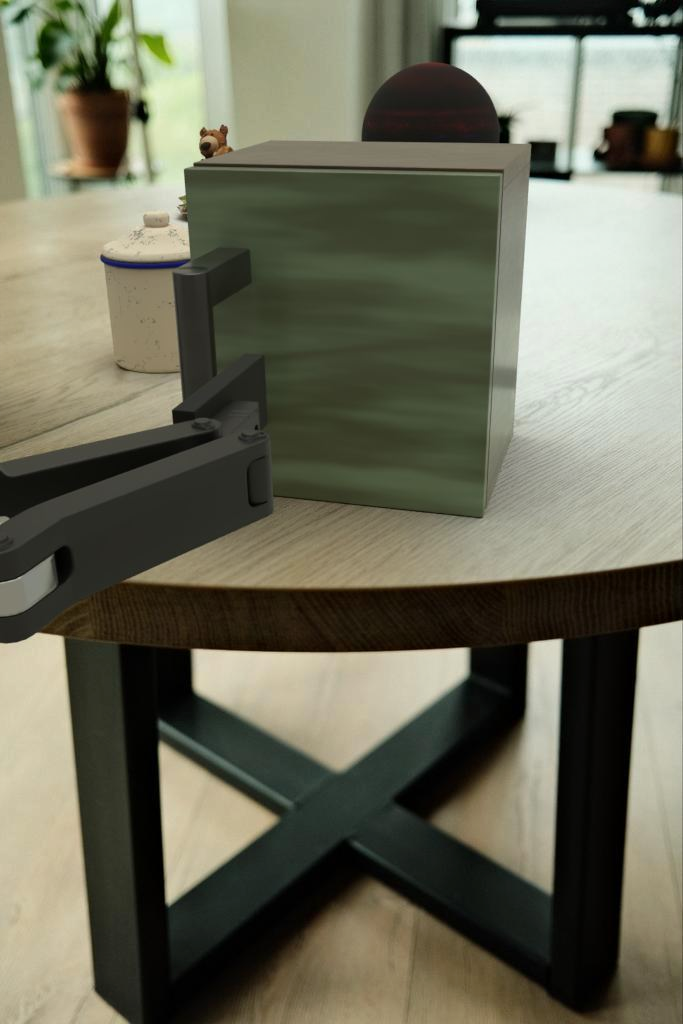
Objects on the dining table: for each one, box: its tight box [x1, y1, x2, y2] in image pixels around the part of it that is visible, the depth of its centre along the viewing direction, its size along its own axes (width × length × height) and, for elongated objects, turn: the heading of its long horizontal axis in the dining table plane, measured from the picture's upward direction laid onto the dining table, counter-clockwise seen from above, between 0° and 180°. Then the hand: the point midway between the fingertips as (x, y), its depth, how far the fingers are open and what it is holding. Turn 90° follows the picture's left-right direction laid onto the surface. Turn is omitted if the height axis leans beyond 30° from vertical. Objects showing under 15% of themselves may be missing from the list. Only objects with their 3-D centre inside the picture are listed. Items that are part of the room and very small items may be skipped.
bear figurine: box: [176, 124, 235, 215], centre depth 146 cm, size 14×15×12 cm
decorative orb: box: [361, 62, 500, 143], centre depth 148 cm, size 20×20×20 cm
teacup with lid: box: [99, 210, 191, 374], centre depth 82 cm, size 12×9×12 cm
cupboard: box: [192, 139, 532, 510], centre depth 59 cm, size 12×16×18 cm
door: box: [172, 165, 503, 518], centre depth 51 cm, size 7×16×18 cm, turn 74°
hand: (93, 376), depth 40 cm, fingers open, 13 cm apart
